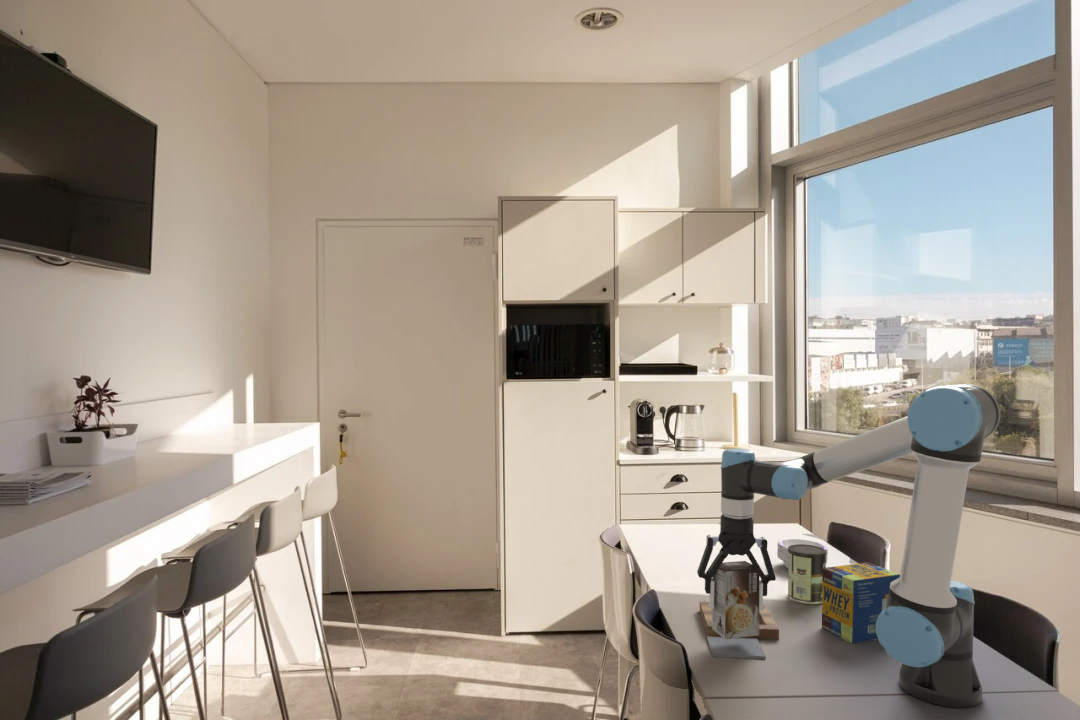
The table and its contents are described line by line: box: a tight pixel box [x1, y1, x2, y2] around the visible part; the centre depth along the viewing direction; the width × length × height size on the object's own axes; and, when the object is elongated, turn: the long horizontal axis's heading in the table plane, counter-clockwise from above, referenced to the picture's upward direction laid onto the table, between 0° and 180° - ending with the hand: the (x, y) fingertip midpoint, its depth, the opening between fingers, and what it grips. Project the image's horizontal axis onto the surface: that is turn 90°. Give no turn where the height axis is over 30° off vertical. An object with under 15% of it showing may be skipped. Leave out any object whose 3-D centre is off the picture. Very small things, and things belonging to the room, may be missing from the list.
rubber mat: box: [706, 635, 767, 660], centre depth 169 cm, size 10×12×1 cm
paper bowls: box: [777, 537, 829, 569], centre depth 230 cm, size 15×15×8 cm
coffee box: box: [712, 560, 761, 639], centre depth 169 cm, size 9×6×16 cm
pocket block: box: [699, 601, 780, 640], centre depth 183 cm, size 17×17×2 cm
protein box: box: [821, 561, 900, 644], centre depth 179 cm, size 10×15×16 cm
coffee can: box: [787, 544, 827, 605], centre depth 203 cm, size 10×10×14 cm
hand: (735, 608), depth 169 cm, fingers closed on coffee box, 10 cm apart
